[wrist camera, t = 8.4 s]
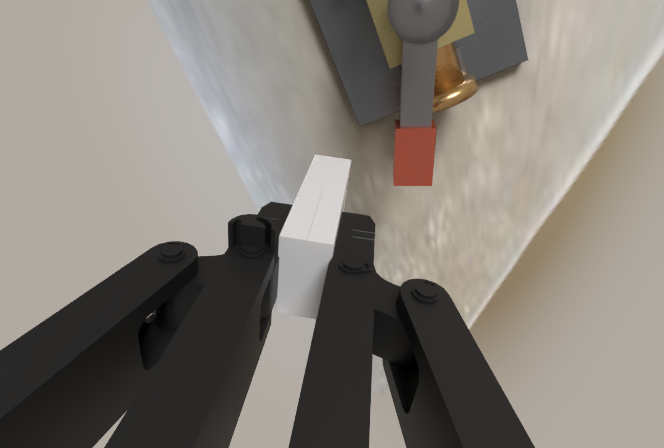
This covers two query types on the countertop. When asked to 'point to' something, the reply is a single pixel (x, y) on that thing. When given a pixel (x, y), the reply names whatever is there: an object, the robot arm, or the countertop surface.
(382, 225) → the countertop surface
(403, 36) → the lever
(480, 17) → the valve
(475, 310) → the countertop surface
